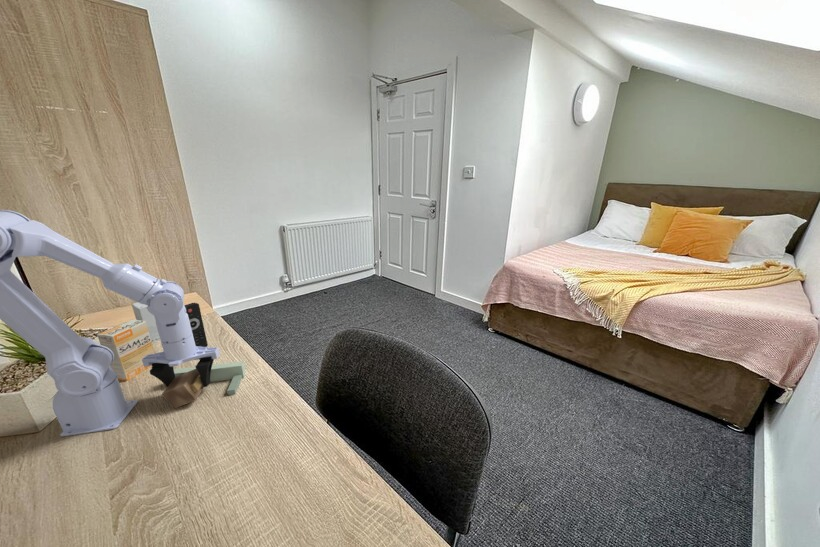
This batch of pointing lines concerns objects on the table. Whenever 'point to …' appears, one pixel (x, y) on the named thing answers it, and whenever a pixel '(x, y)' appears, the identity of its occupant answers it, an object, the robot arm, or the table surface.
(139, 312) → the skincare box
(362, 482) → the table surface
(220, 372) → the green l-shaped block
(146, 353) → the supplement box
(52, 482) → the table surface
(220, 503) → the table surface
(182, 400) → the brown block
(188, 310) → the remote control
